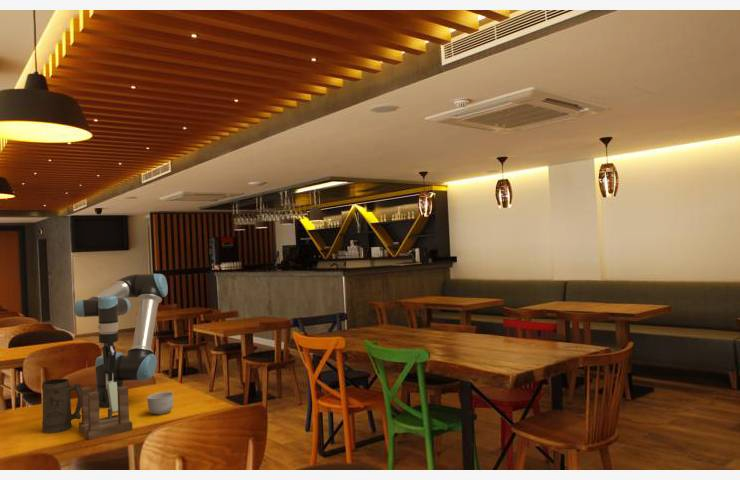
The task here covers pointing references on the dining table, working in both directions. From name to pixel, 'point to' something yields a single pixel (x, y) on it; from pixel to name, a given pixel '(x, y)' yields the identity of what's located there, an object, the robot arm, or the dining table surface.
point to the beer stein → (59, 405)
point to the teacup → (160, 402)
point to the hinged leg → (113, 396)
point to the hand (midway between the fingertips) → (109, 388)
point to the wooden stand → (106, 425)
